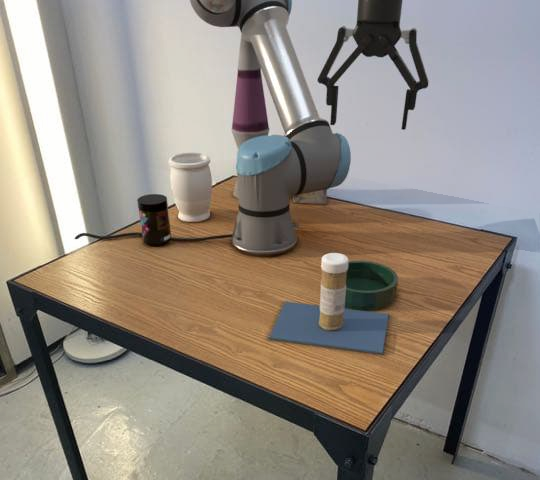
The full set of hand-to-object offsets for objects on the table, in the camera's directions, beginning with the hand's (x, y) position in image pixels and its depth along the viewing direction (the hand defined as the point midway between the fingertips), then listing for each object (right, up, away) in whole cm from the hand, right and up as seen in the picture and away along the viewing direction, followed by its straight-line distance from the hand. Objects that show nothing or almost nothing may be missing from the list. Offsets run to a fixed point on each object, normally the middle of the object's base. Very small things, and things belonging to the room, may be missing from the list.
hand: (368, 125), depth 110 cm
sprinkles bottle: (-8, -39, -6) cm, 40 cm away
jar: (-39, -8, +38) cm, 55 cm away
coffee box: (-8, -1, +48) cm, 48 cm away
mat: (-8, -39, -6) cm, 41 cm away
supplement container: (-46, -17, +25) cm, 55 cm away
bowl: (-1, -32, +4) cm, 32 cm away
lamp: (-24, +2, +52) cm, 57 cm away
